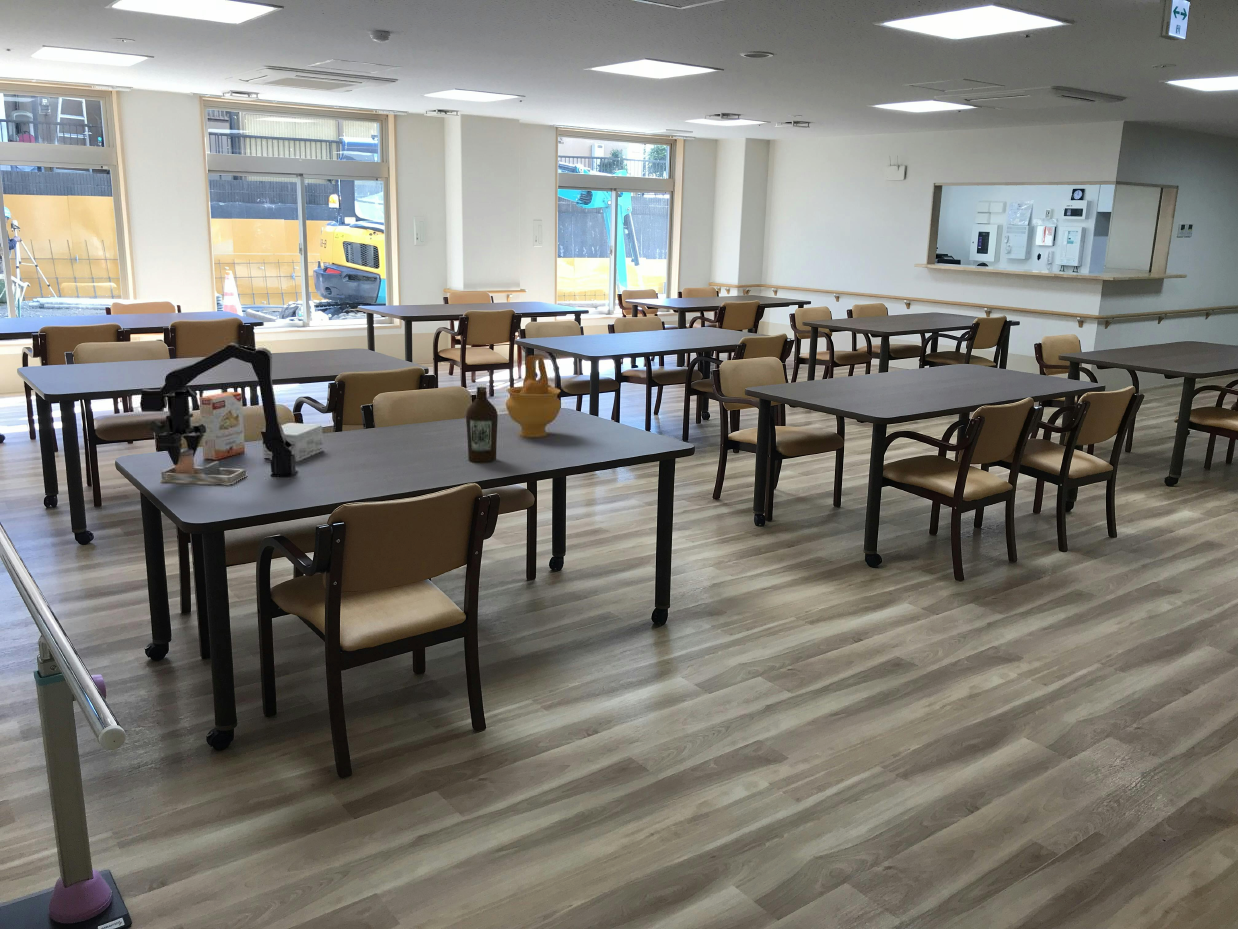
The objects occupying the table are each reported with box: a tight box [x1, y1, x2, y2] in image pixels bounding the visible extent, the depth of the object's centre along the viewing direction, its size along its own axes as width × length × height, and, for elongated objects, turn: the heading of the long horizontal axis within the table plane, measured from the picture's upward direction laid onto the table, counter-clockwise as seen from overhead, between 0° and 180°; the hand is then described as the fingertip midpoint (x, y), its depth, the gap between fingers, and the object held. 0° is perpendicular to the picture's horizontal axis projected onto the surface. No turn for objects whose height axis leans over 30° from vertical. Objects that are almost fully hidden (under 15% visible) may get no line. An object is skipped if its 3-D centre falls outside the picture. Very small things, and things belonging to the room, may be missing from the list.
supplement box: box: [261, 422, 324, 462], centre depth 335 cm, size 17×13×9 cm
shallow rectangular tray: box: [160, 465, 248, 486], centre depth 301 cm, size 22×11×3 cm, turn 84°
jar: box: [173, 448, 195, 474], centre depth 301 cm, size 6×6×8 cm
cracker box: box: [198, 391, 246, 461], centre depth 329 cm, size 14×6×21 cm, turn 160°
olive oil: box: [465, 386, 499, 464], centre depth 331 cm, size 11×11×25 cm
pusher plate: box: [203, 461, 220, 475], centre depth 301 cm, size 1×7×4 cm, turn 174°
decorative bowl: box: [505, 355, 562, 438], centre depth 373 cm, size 21×21×30 cm
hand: (183, 461), depth 301 cm, fingers open, 9 cm apart
